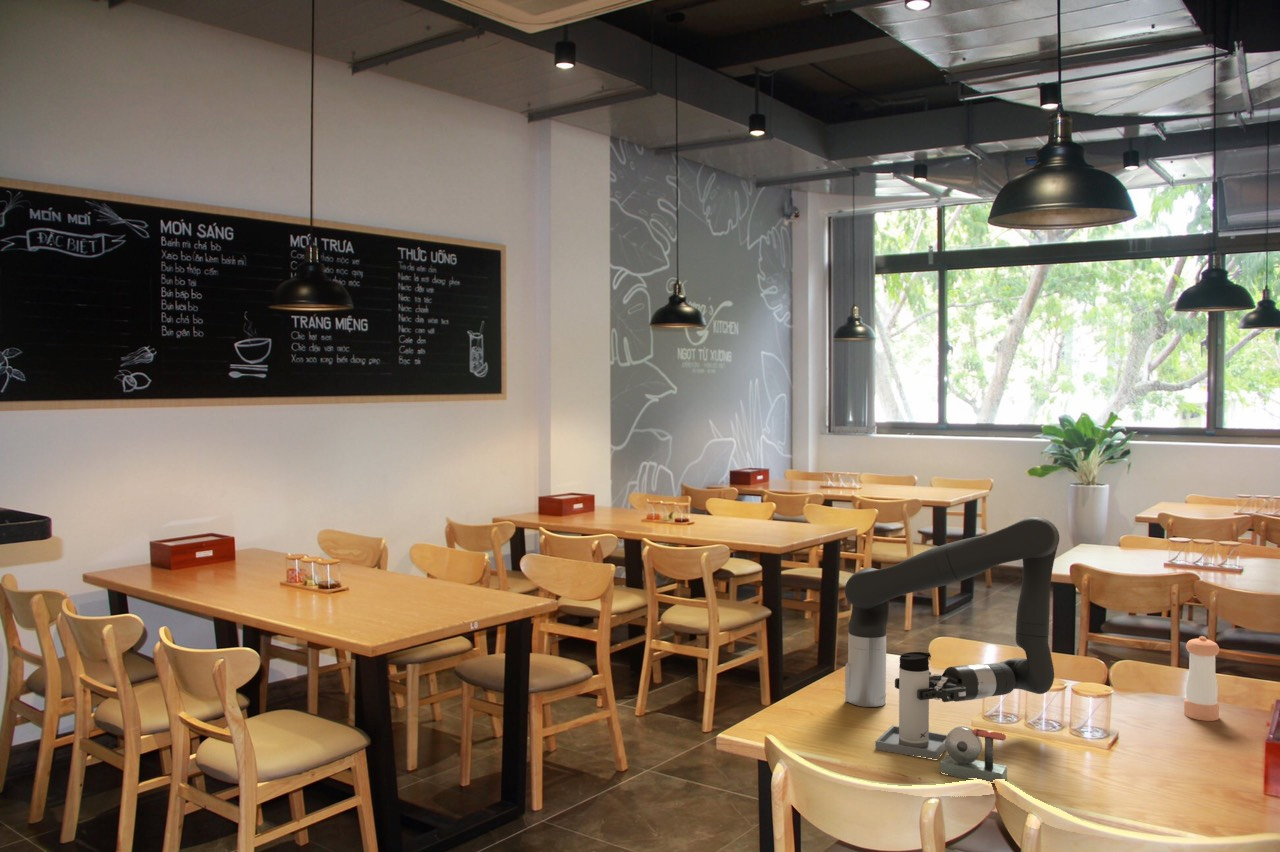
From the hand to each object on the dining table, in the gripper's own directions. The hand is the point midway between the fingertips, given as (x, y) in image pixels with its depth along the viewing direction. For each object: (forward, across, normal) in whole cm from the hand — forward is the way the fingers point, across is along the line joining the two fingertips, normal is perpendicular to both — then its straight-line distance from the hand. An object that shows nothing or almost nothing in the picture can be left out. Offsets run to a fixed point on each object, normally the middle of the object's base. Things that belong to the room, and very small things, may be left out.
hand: (906, 689), depth 216 cm
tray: (-2, 0, +13) cm, 13 cm away
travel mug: (-2, 0, +12) cm, 13 cm away
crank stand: (-4, +18, +13) cm, 23 cm away
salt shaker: (-79, +4, +13) cm, 80 cm away
